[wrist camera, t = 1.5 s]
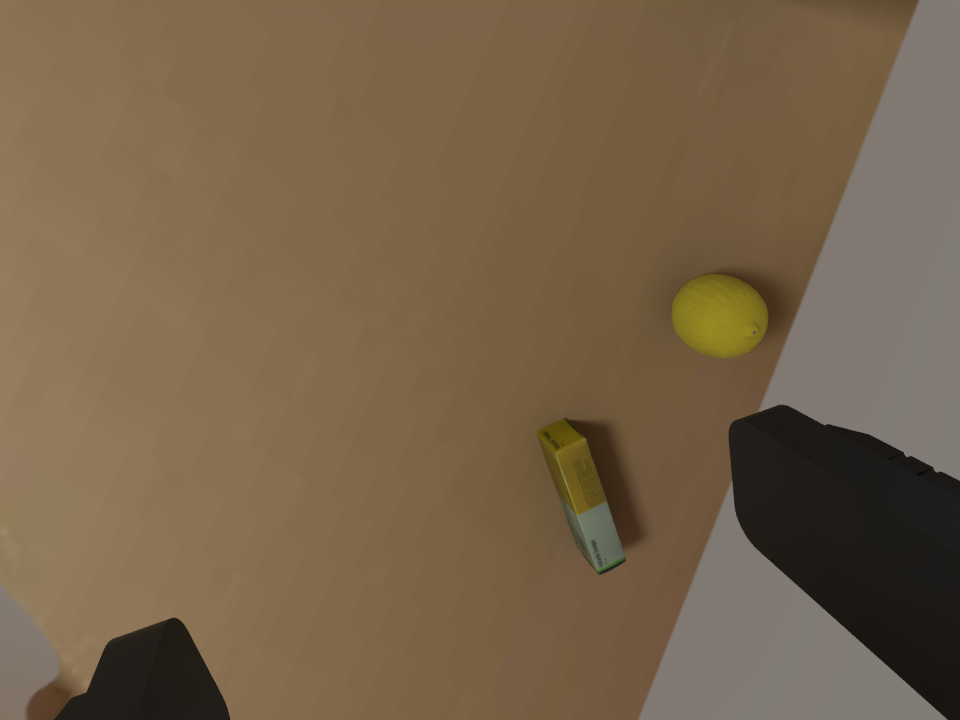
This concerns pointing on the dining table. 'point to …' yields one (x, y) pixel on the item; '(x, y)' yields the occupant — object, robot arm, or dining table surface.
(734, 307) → the lemon
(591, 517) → the medication box
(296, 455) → the dining table surface
